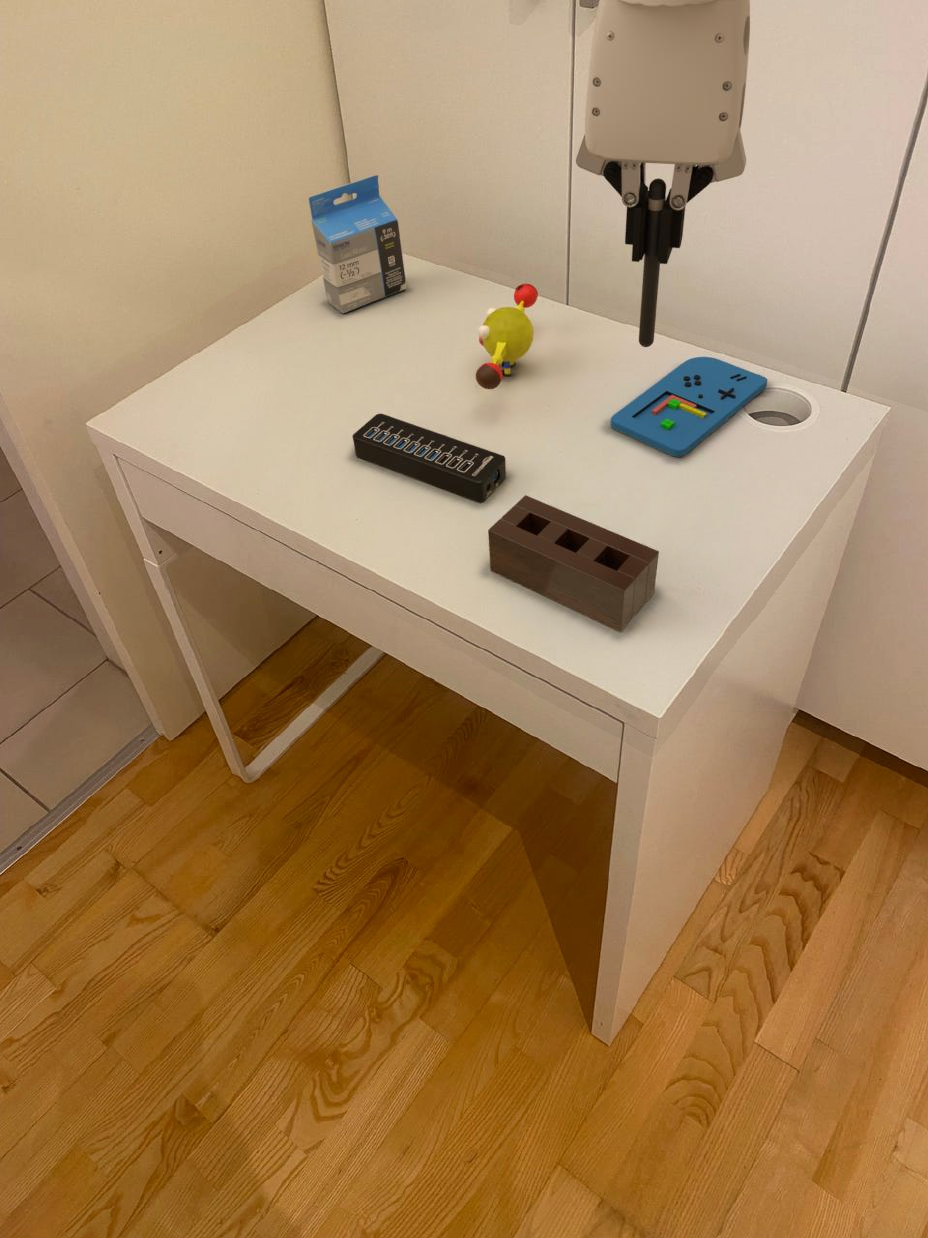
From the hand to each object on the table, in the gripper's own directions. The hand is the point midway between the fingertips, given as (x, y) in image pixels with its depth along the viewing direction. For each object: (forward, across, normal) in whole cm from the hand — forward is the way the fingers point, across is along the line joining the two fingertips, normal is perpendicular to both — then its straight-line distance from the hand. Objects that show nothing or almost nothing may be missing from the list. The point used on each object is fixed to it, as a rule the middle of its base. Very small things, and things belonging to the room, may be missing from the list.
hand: (652, 253), depth 71 cm
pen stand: (+21, +2, +15) cm, 26 cm away
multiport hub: (+21, +19, +3) cm, 28 cm away
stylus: (+8, 0, 0) cm, 8 cm away
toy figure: (+21, +16, -14) cm, 30 cm away
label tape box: (+21, +36, -26) cm, 49 cm away
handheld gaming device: (+21, -3, -11) cm, 24 cm away
